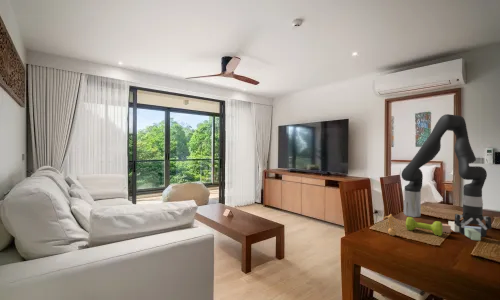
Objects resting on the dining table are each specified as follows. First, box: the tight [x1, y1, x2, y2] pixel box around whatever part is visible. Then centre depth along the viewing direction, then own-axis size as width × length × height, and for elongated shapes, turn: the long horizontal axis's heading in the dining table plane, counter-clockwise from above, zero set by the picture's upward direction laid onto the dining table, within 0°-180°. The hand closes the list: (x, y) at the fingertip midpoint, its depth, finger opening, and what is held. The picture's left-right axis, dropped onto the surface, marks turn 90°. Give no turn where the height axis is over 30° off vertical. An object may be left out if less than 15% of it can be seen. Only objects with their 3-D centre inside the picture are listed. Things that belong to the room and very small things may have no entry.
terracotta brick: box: [442, 223, 452, 234], centre depth 129 cm, size 7×3×4 cm, turn 69°
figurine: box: [382, 213, 401, 236], centre depth 123 cm, size 8×6×12 cm
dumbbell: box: [405, 216, 444, 237], centre depth 128 cm, size 16×8×7 cm, turn 49°
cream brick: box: [447, 220, 460, 233], centre depth 131 cm, size 3×7×4 cm, turn 161°
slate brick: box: [463, 225, 482, 234], centre depth 124 cm, size 7×3×4 cm, turn 70°
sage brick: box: [464, 228, 482, 241], centre depth 120 cm, size 3×7×4 cm, turn 159°
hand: (472, 235), depth 120 cm, fingers open, 8 cm apart
